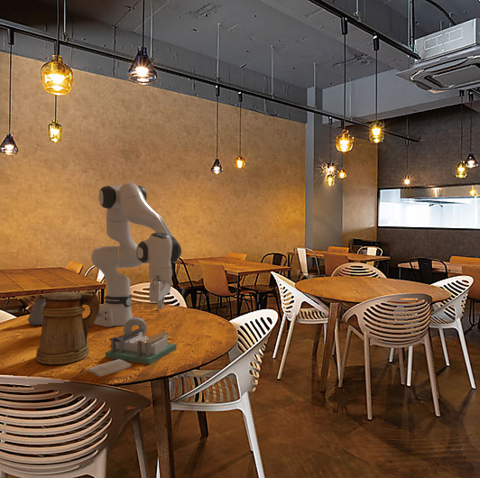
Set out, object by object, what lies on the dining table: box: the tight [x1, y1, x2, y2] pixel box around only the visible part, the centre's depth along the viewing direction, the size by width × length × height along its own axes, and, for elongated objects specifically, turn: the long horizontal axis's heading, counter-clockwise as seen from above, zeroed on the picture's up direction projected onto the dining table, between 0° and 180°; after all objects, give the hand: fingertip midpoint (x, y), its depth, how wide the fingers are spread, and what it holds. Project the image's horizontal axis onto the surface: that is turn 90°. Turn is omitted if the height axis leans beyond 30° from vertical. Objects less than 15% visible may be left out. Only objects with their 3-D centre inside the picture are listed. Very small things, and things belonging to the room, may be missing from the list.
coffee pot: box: [27, 291, 73, 326], centre depth 208 cm, size 21×12×15 cm, turn 126°
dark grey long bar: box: [114, 328, 144, 342], centre depth 164 cm, size 2×16×2 cm, turn 158°
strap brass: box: [140, 331, 169, 346], centre depth 159 cm, size 2×16×2 cm, turn 158°
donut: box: [123, 316, 148, 337], centre depth 179 cm, size 10×3×10 cm, turn 115°
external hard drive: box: [87, 359, 132, 377], centre depth 146 cm, size 2×8×12 cm
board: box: [105, 332, 177, 365], centre depth 162 cm, size 20×19×8 cm
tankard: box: [35, 289, 101, 365], centre depth 158 cm, size 18×24×25 cm
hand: (160, 308), depth 163 cm, fingers closed
